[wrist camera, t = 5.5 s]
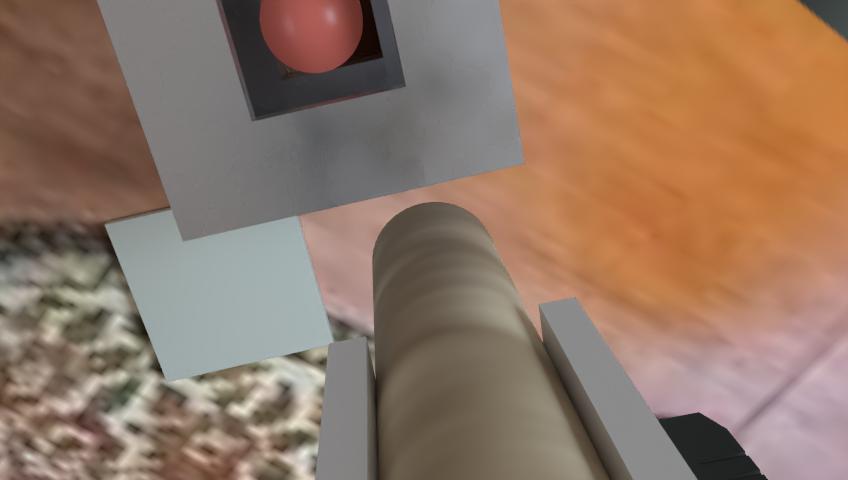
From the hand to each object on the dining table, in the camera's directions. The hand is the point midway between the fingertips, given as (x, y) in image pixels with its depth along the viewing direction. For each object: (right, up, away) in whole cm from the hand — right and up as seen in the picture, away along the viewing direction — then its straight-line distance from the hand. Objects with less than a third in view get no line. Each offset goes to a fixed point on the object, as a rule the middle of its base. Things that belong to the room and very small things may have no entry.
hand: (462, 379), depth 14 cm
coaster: (-12, 0, +25) cm, 28 cm away
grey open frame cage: (-6, +14, +21) cm, 26 cm away
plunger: (-6, +13, +18) cm, 23 cm away
